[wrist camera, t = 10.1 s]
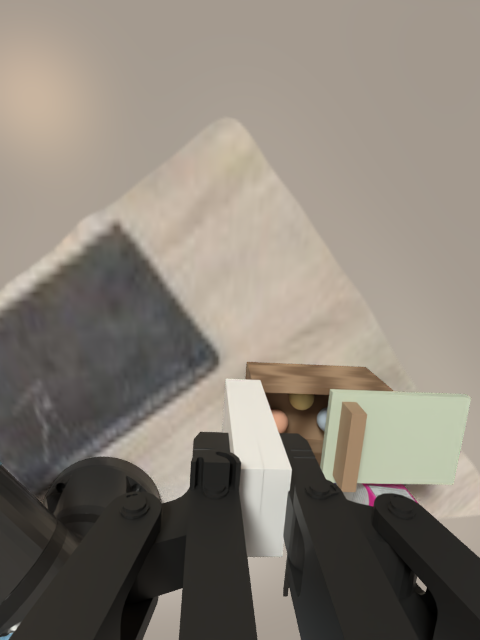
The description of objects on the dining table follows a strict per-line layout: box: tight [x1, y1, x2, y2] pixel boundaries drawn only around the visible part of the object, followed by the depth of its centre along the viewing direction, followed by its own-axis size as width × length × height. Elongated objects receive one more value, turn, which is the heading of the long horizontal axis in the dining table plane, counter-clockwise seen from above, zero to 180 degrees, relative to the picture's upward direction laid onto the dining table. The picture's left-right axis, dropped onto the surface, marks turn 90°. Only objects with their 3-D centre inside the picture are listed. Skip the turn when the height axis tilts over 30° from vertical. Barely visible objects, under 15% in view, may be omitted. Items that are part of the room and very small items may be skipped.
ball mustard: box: [289, 393, 314, 410], centre depth 49 cm, size 3×3×3 cm
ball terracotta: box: [271, 409, 288, 433], centre depth 50 cm, size 3×3×3 cm
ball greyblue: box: [317, 407, 328, 431], centre depth 50 cm, size 3×3×3 cm
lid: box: [320, 389, 471, 492], centre depth 43 cm, size 16×11×4 cm
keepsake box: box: [246, 362, 393, 466], centre depth 48 cm, size 16×11×8 cm
